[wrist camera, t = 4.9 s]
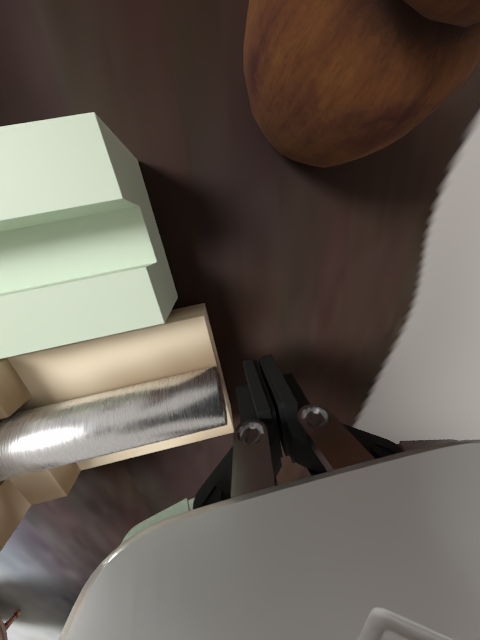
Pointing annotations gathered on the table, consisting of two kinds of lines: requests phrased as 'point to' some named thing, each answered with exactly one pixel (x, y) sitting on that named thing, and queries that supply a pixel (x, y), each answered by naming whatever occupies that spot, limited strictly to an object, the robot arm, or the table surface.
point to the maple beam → (97, 377)
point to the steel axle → (110, 422)
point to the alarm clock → (7, 625)
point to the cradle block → (75, 237)
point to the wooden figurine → (353, 71)
